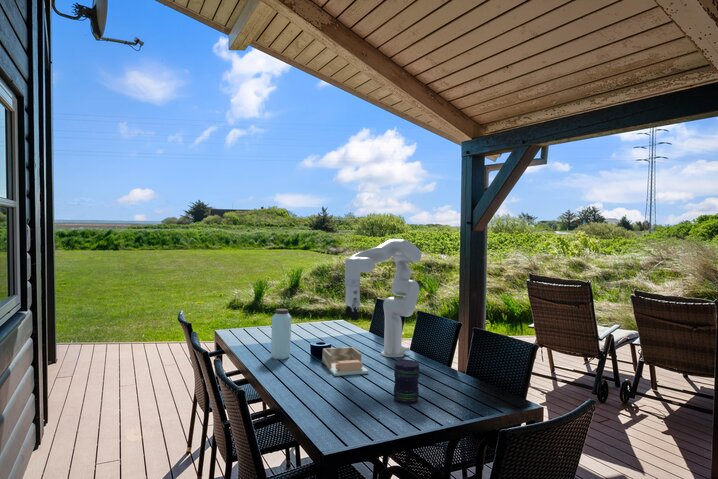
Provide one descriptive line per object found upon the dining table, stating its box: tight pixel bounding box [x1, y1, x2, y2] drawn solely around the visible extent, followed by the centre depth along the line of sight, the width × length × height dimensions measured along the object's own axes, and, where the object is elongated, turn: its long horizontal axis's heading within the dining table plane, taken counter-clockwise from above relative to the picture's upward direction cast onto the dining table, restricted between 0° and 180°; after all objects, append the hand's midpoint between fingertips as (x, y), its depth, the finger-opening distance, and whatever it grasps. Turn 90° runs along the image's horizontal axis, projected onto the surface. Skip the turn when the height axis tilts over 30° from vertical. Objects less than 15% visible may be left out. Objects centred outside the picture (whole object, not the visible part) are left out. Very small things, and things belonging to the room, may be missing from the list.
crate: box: [321, 346, 362, 371], centre depth 223 cm, size 16×14×7 cm
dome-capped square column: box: [335, 360, 364, 372], centre depth 211 cm, size 13×4×4 cm, turn 109°
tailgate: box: [329, 366, 369, 377], centre depth 211 cm, size 16×1×9 cm
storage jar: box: [393, 355, 420, 406], centre depth 176 cm, size 10×10×18 cm
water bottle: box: [270, 308, 292, 360], centre depth 234 cm, size 10×10×25 cm
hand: (351, 318), depth 219 cm, fingers open, 9 cm apart
